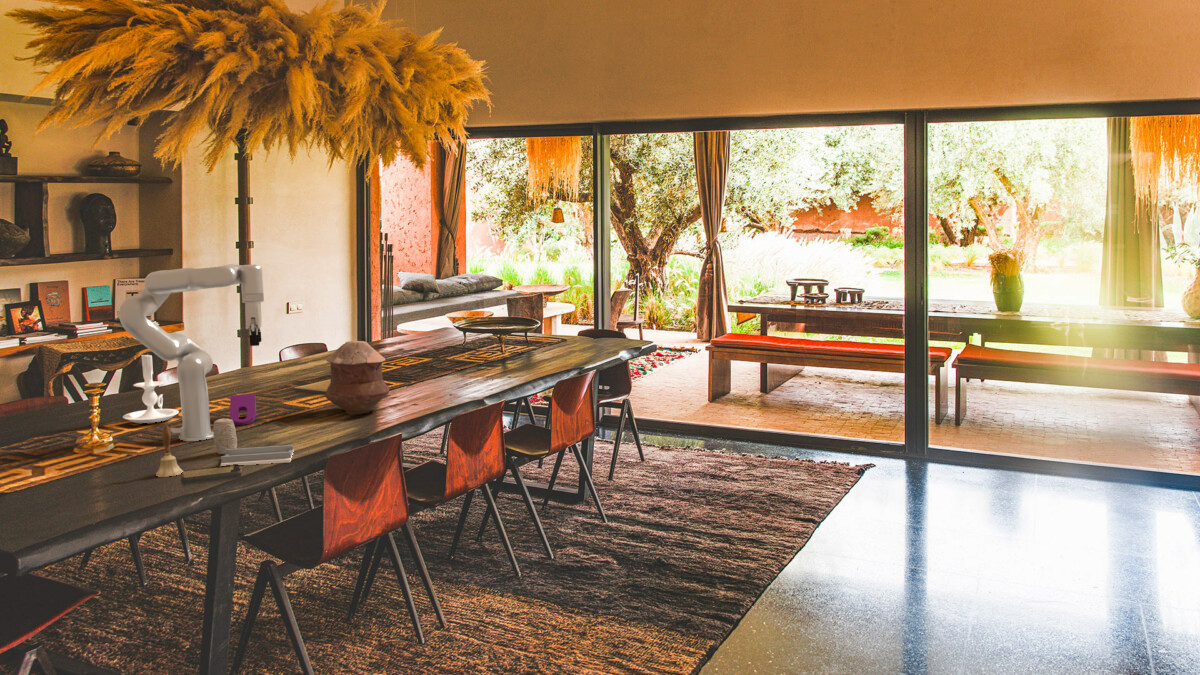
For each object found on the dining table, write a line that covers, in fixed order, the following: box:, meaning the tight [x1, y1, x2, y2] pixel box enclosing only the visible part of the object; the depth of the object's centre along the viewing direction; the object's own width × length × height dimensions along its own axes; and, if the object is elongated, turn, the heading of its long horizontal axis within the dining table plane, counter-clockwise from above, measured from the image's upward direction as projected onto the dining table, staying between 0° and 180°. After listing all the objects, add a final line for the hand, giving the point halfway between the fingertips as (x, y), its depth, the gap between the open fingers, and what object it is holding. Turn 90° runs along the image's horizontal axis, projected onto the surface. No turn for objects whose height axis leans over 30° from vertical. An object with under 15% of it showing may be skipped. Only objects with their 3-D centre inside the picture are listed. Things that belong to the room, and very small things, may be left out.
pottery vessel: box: [324, 340, 390, 415], centre depth 391 cm, size 26×26×30 cm
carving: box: [213, 418, 238, 455], centre depth 327 cm, size 6×8×12 cm
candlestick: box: [122, 353, 180, 424], centre depth 379 cm, size 21×25×28 cm
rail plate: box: [220, 444, 295, 467], centre depth 319 cm, size 22×14×3 cm, turn 103°
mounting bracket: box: [229, 393, 257, 426], centre depth 379 cm, size 9×8×18 cm
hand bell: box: [155, 424, 184, 478], centre depth 301 cm, size 8×8×16 cm
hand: (255, 343), depth 348 cm, fingers open, 9 cm apart
